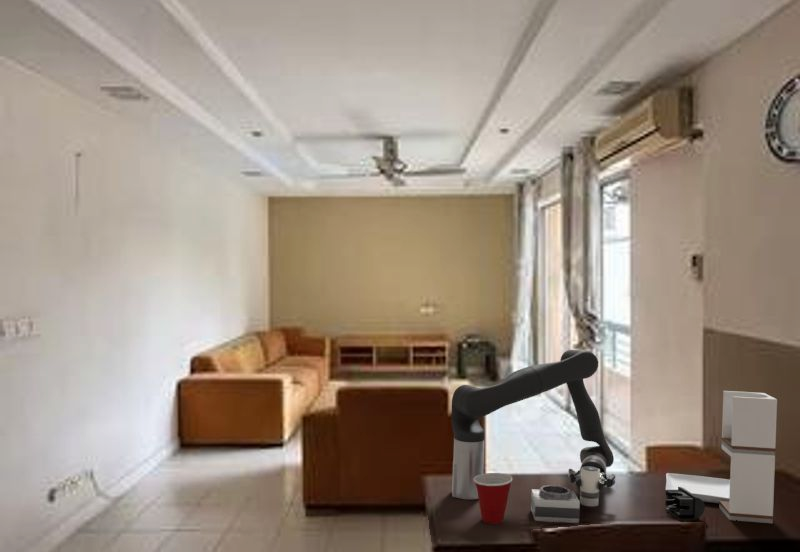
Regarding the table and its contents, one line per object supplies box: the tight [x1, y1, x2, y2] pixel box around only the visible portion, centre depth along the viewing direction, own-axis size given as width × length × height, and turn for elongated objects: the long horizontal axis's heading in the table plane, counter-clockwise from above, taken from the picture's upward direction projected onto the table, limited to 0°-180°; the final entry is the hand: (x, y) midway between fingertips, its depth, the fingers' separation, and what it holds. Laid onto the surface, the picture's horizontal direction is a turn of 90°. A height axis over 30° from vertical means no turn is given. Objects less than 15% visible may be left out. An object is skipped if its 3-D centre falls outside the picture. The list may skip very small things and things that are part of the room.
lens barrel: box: [579, 466, 600, 507], centre depth 208 cm, size 5×5×10 cm
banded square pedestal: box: [530, 484, 581, 524], centre depth 203 cm, size 12×9×8 cm
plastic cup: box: [473, 472, 514, 525], centre depth 198 cm, size 11×11×12 cm
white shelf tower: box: [718, 390, 778, 524], centre depth 209 cm, size 11×11×35 cm
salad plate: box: [665, 472, 730, 504], centre depth 228 cm, size 21×21×3 cm
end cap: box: [664, 487, 706, 521], centre depth 208 cm, size 10×7×7 cm
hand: (589, 485), depth 206 cm, fingers closed on lens barrel, 5 cm apart
